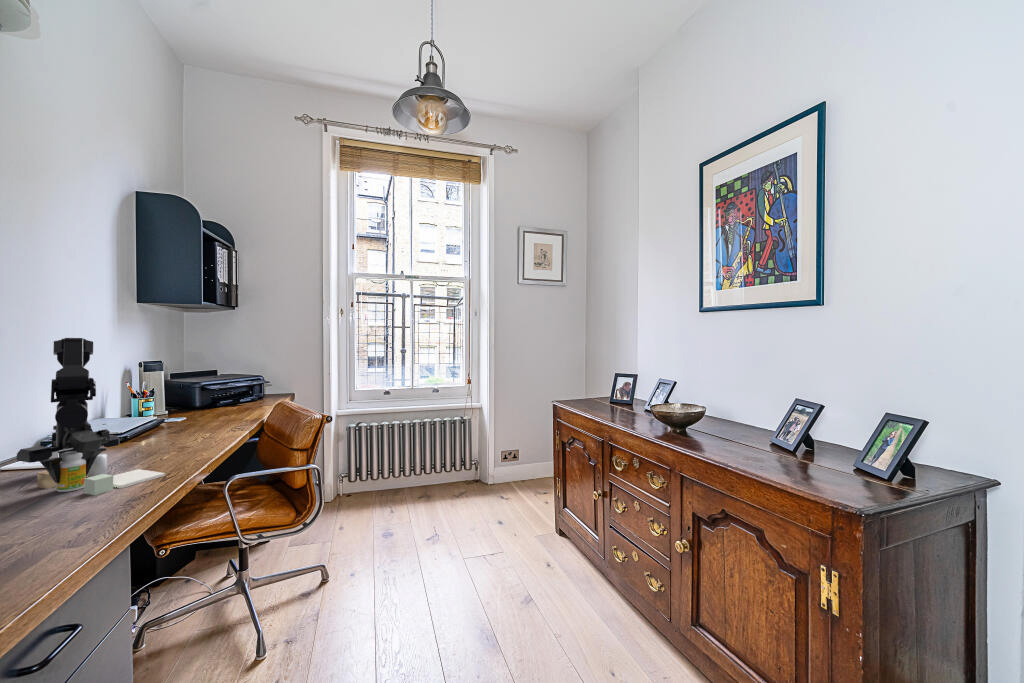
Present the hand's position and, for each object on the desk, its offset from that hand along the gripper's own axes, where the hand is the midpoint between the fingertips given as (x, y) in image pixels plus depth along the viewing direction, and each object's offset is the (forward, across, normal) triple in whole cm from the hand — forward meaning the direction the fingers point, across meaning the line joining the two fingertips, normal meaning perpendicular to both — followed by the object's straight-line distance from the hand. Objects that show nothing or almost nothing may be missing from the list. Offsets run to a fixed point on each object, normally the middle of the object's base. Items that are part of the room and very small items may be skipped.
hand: (71, 479), depth 113 cm
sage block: (+3, +1, -9) cm, 9 cm away
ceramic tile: (+2, +10, -6) cm, 12 cm away
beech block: (+3, 0, +8) cm, 8 cm away
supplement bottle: (+3, 0, 0) cm, 3 cm away
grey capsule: (+3, +9, +6) cm, 11 cm away
